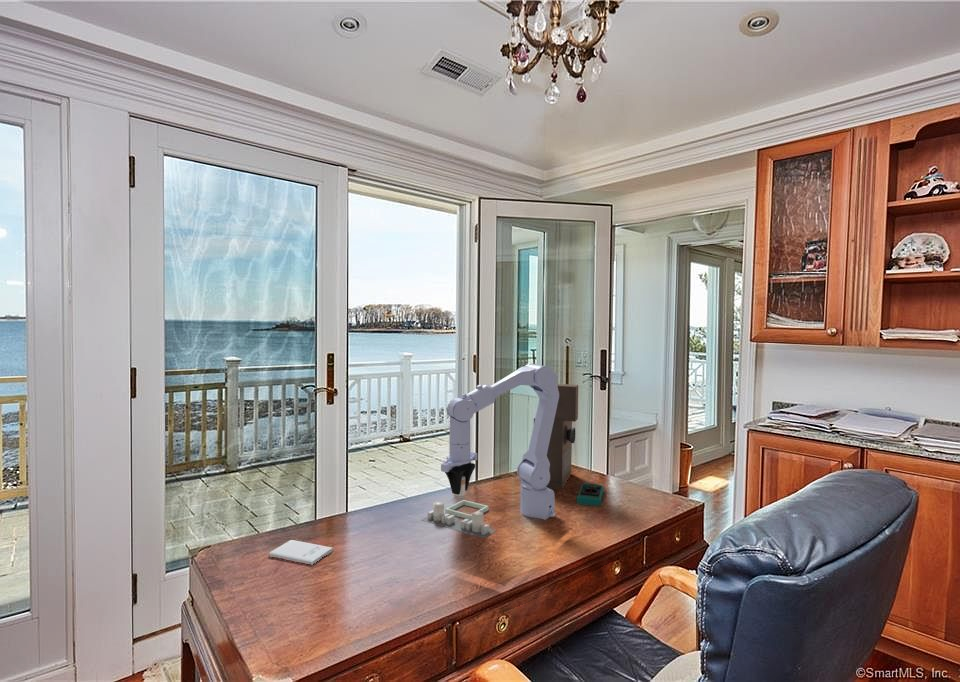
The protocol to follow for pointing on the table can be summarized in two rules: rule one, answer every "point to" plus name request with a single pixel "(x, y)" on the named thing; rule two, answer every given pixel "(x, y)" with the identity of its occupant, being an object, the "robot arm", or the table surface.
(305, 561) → the external hard drive
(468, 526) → the fuse board
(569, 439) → the tall box with knob
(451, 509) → the tray
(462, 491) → the cylinder
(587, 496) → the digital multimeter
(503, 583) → the table surface
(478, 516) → the cylinder
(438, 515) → the white glossy rounded part
